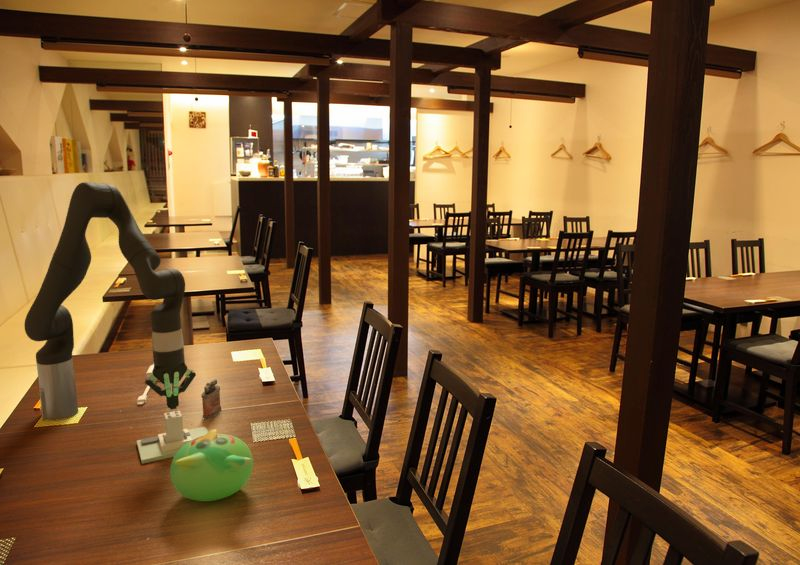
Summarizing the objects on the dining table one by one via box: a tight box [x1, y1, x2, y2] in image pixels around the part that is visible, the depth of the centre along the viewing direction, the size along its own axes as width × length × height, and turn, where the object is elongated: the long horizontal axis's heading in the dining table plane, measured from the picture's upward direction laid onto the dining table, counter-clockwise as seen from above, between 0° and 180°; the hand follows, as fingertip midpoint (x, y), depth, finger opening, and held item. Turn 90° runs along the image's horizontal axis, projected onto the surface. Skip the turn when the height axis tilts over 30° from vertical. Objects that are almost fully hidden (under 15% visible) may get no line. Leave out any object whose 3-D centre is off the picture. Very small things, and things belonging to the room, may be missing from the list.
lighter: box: [200, 379, 222, 420], centre depth 176 cm, size 8×3×10 cm, turn 168°
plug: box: [163, 410, 184, 443], centre depth 156 cm, size 4×4×8 cm
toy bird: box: [169, 428, 254, 502], centre depth 133 cm, size 18×17×15 cm
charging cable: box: [136, 362, 159, 406], centre depth 197 cm, size 5×32×3 cm, turn 12°
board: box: [136, 426, 209, 465], centre depth 157 cm, size 18×12×3 cm, turn 119°
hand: (173, 408), depth 155 cm, fingers closed
